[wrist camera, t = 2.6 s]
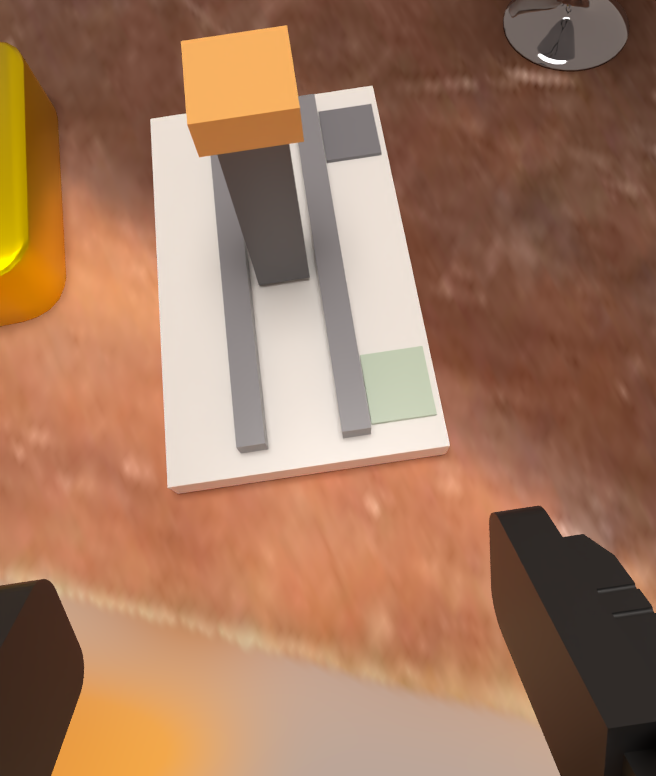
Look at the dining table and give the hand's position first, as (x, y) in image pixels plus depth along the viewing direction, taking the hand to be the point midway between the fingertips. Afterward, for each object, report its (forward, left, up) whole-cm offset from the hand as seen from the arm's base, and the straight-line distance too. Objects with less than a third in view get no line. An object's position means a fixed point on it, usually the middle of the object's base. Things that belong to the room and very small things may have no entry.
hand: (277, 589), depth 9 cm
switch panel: (0, +15, -17) cm, 22 cm away
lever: (0, +15, -15) cm, 21 cm away
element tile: (-19, +22, -17) cm, 34 cm away
